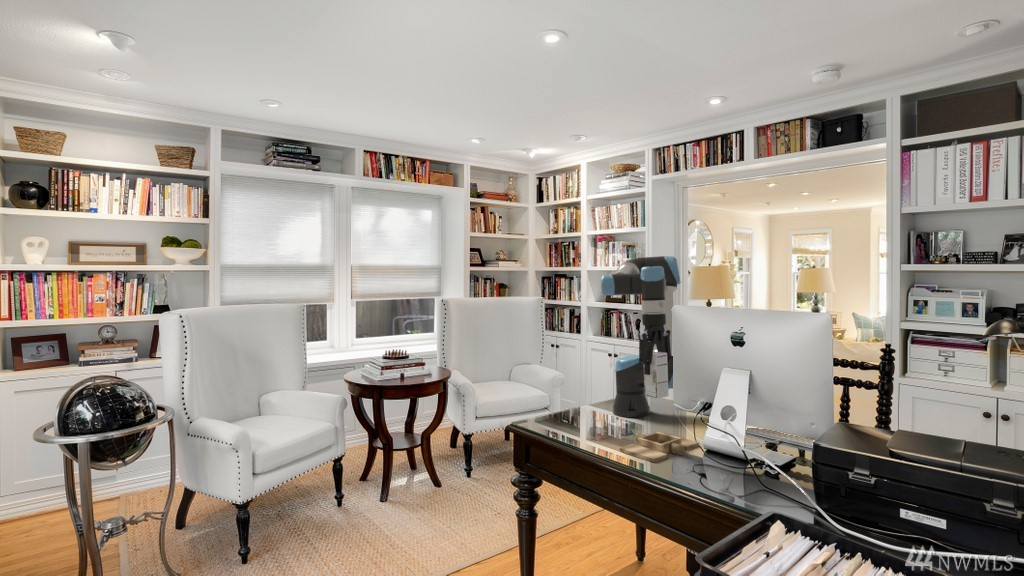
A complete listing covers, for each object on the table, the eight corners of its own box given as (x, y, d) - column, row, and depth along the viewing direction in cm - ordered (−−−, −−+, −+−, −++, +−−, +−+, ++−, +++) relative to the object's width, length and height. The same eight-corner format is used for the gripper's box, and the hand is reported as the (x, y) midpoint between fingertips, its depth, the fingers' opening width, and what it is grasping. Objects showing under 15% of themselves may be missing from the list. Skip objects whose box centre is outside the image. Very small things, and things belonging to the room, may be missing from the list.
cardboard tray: (615, 450, 177) (615, 439, 177) (660, 435, 190) (659, 425, 190) (658, 464, 163) (658, 452, 163) (703, 447, 176) (703, 436, 176)
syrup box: (669, 396, 176) (668, 352, 176) (657, 398, 173) (655, 353, 173) (655, 393, 181) (654, 350, 181) (643, 396, 178) (642, 352, 178)
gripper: (643, 315, 168) (646, 388, 168) (681, 311, 179) (683, 380, 179) (625, 314, 174) (628, 385, 175) (663, 311, 185) (665, 377, 185)
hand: (656, 382), depth 177 cm, fingers closed on syrup box, 6 cm apart
